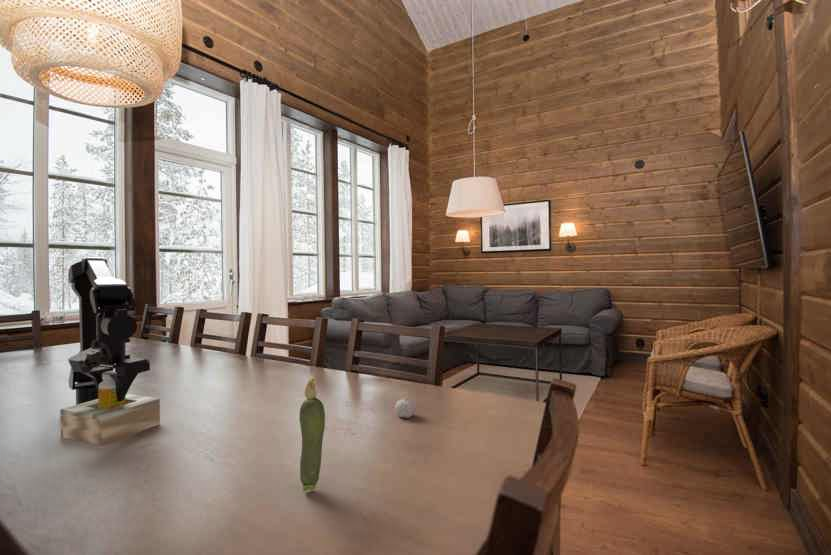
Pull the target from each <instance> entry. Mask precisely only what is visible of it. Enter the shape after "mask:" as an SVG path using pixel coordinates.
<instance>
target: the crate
mask: <svg viewBox="0 0 831 555" xmlns="http://www.w3.org/2000/svg"><path fill="white" fill-rule="evenodd" d="M160 400H161V399H160V397H154V396H153V397H151V396H146V395H145V396H144V395H137V394H129V393H127V394H126V405H122V406H119V407H116V408H113V409H109V410H104V409H98V399H96V400H92V401H89V402H85V403H82V404H78V405H76V404H74V405H72V406H68V407H64V408H60V409H59V412H60V417H59V418H60V421H59V422H60V438H62V439H68V440H73V441H79V442H83V443H88V444H93V445H99V446H105V445H109V444H112V443H113V442H114V443H115V442H116V441H119V440H121V439H125V438H126V437H129V436H132V435H135V434H138V433H140V432H143V431H145V430H148V429H150V428H153V427H156V426H159V425H160V424H161V410H160V409H161V405H160V404H161V402H160Z"/></svg>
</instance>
